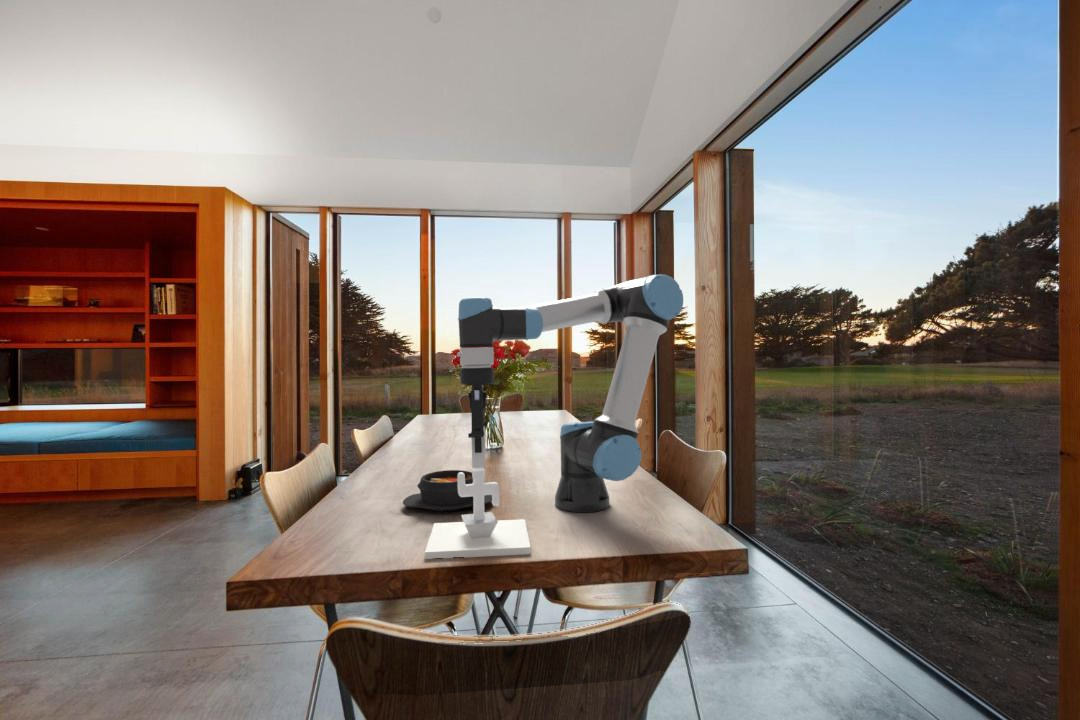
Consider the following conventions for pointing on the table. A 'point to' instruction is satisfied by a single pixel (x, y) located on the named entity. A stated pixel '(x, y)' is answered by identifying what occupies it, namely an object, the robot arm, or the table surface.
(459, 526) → the board
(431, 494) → the casserole
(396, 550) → the table surface
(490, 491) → the figurine
